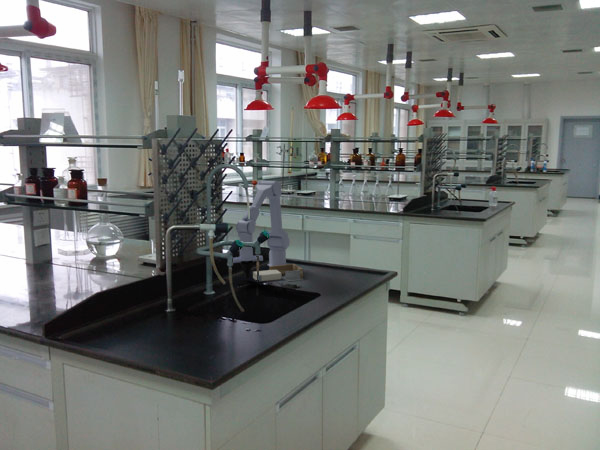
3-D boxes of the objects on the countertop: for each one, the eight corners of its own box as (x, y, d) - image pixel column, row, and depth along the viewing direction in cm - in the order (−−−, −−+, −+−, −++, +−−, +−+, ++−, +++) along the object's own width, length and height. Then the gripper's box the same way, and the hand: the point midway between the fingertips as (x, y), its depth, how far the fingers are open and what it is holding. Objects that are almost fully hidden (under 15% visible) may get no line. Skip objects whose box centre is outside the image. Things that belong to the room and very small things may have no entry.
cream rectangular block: (253, 278, 234) (253, 271, 234) (276, 275, 238) (276, 269, 238) (257, 282, 228) (257, 275, 227) (281, 279, 232) (281, 273, 231)
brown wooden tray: (269, 274, 239) (269, 266, 239) (294, 272, 244) (294, 263, 243) (277, 280, 229) (277, 271, 229) (302, 277, 234) (302, 268, 233)
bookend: (285, 279, 231) (285, 271, 231) (299, 277, 234) (299, 269, 233) (288, 281, 228) (288, 273, 227) (303, 279, 230) (303, 272, 230)
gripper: (232, 250, 221) (233, 281, 223) (264, 247, 226) (265, 278, 228) (228, 247, 227) (228, 277, 229) (259, 244, 233) (260, 274, 235)
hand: (246, 277), depth 229 cm, fingers closed
